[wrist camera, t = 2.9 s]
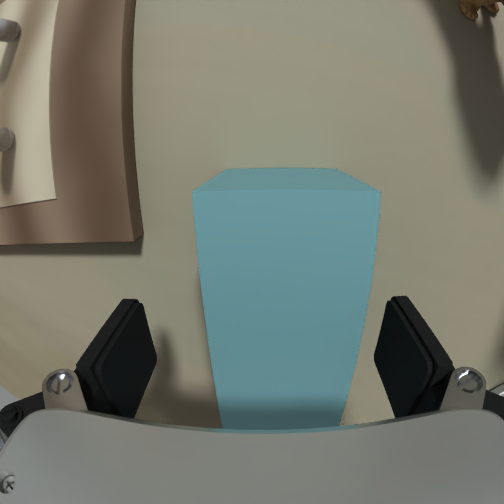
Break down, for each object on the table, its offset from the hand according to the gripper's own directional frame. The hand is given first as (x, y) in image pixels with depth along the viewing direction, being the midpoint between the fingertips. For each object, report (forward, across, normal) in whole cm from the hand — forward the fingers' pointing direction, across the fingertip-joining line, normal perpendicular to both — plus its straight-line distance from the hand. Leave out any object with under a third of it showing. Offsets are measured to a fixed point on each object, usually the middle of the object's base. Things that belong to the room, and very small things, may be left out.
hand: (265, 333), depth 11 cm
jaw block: (+5, -1, +1) cm, 5 cm away
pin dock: (+5, +14, -12) cm, 20 cm away
